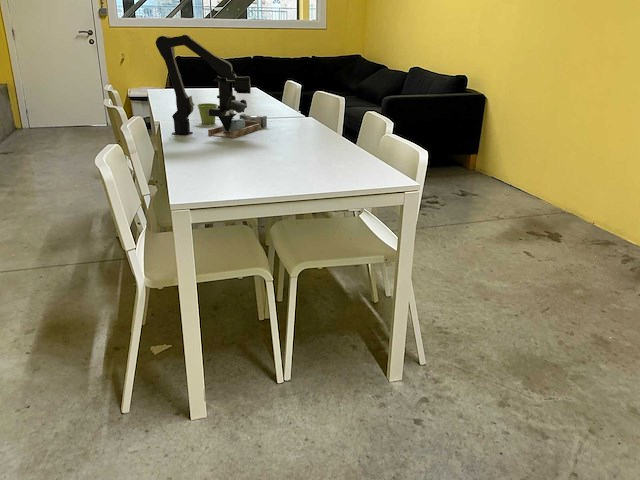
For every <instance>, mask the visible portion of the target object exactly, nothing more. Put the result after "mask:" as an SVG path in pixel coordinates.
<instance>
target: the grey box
mask: <svg viewBox="0 0 640 480" xmlns="http://www.w3.org/2000/svg"><path fill="white" fill-rule="evenodd" d="M222 126H223V125H222ZM242 128H245V120H244V119H240V118H234V117H233V118H232V121H231V124H230V128H229V131H226V130H225V128H224V126H223V131H224V132H232V131H236V130H239V129H242Z"/></svg>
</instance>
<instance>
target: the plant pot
mask: <svg viewBox="0 0 640 480" xmlns="http://www.w3.org/2000/svg"><path fill="white" fill-rule="evenodd" d="M196 106H197V108H198V111H199V116H200V121H201V124H203V125H210V124H211V125H214V124H215V123H216V116H209V115H208V111H209V110H210V109H212V108H217V106H219V105H218V104H217V103H212V102H211V103H207V102H203V103H198V104H196Z"/></svg>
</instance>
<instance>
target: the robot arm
mask: <svg viewBox="0 0 640 480" xmlns="http://www.w3.org/2000/svg"><path fill="white" fill-rule="evenodd" d="M181 46H185V47H186V48H187V49H189V50H191V52H193V53H194V54H196V55H197V56H199V57H200V58H201V59H203V60H204V61H205V62H206V63H208V64H209V65H210V66H211V68H213V70H214V71H215V72H216V73H217V74H219V75H216V77H215V78H214V79H213V82H214V83H218V95H216V99H218V101H219V105H218V106H217V108H212V109H210V110H209V111H208V115H209V116H215V118H217V117H218V119H219V121H220V122H221V124H222V126H224V128H225V130H226V131H229V128H230V124H231V121H232V118H234V117H235V116H237V114H242V113H244V112H245V109H247V108H248V106H247V105H248V104H247V100H245V99H241V100H238V99H236V98H237V97H236V96H235V95H233V94H234V91H235V92H236V94H244V95H245V94H251V93H252V92H251V90H252V89H251V88H252V86H251V77H250V76H238V75H237V74H236V73H235V71H234V70H233V64H232V63H231V62H230V61H227V60H225V59H223V58H221V57H219V56H217V55H215V53H214V54H213V52H211V51H210V50H208V49H207V48H205V47H204V46H203V45H202V44H200V43H199V42H197V41H196V40H195V39H193V38H192V37H191V36H190V35H189V34H182V35H179V36H172V37H170V36H169V35H160V36H158V37H157V38H156V40H155V47H156V48H157V50H158V52H159V54H160V56H161V57H162V59H163V61H164V62H165V63H164V64H165V66H166V69H167V72H168V75H169V78H170V81H171V84H172V87H173V91H174V94H175V104H176V111H175V113H174V114H173V115H172V116H171V117H172V119H173V126H174V127H173V129H174V132H171V135H176V136H177V135H178V136H187V135H191V134H193V133H194V132H193V131H191V127H190V125H191V124H190V123H191V122H190V115H191V114H192V113H193V111H194V109H195V108H194V107H195V103H194V101H193V97H192V95H189V96H188V94H187V93H186V88H185V85H184V83H183V80H182V79H183V78H182V77H181V74H180V70H179V67H178V64H177V61H176V60H177V59H176V55H175V47H181ZM235 112H236V113H235Z"/></svg>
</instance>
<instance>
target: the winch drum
mask: <svg viewBox="0 0 640 480" xmlns="http://www.w3.org/2000/svg"><path fill="white" fill-rule="evenodd" d="M267 118H268V117H267V115H263V116H259V115H257V116H256V115H247V114H245V113H240V114H239V119H244V120H247V121H256V122H258V124H261V129H265V128H267V127H268V126H267V124H268V123H267V121H268V119H267Z"/></svg>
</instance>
